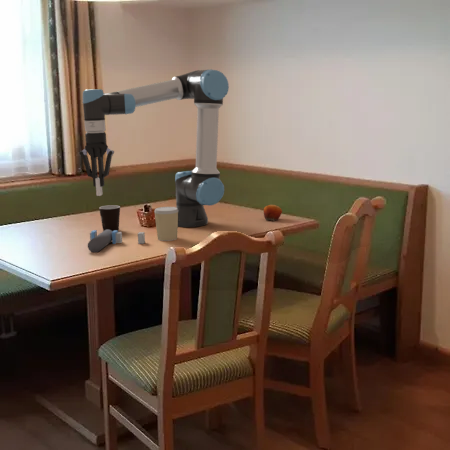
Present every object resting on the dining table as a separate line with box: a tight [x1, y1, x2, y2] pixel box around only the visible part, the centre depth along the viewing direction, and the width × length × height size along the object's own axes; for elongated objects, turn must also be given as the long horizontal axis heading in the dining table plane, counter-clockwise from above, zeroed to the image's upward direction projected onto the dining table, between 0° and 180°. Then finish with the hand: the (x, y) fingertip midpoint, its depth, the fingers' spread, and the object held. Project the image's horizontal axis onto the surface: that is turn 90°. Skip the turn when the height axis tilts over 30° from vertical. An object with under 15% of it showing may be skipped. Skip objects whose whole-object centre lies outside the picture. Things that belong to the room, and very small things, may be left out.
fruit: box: [263, 204, 283, 222], centre depth 292 cm, size 8×8×8 cm
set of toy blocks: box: [89, 229, 146, 245], centre depth 256 cm, size 21×3×5 cm, turn 82°
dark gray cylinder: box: [87, 229, 113, 253], centre depth 251 cm, size 5×17×5 cm, turn 172°
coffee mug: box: [98, 204, 121, 232], centre depth 279 cm, size 12×9×10 cm
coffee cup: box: [154, 206, 179, 242], centre depth 261 cm, size 9×9×12 cm
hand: (99, 195), depth 251 cm, fingers closed
